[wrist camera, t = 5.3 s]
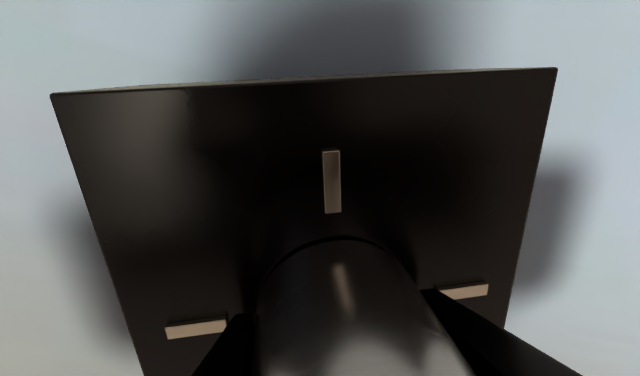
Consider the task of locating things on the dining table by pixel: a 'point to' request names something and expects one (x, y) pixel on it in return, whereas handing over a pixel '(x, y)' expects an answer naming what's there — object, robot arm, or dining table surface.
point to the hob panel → (302, 187)
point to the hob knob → (348, 318)
